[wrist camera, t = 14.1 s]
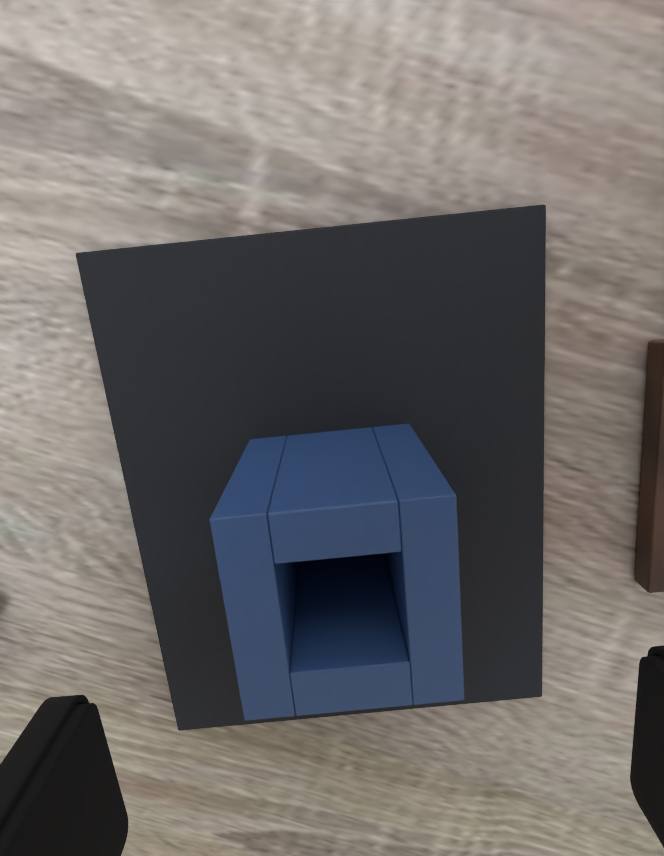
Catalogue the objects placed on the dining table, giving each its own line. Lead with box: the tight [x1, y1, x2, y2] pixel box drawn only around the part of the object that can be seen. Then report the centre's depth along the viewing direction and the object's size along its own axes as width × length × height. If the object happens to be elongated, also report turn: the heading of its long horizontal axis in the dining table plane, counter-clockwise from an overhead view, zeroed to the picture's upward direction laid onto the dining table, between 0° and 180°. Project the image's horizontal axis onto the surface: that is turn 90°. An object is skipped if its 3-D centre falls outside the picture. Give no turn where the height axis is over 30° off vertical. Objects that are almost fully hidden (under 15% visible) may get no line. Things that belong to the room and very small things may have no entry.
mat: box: [76, 205, 546, 730], centre depth 20 cm, size 20×16×1 cm
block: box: [210, 423, 464, 721], centre depth 16 cm, size 6×6×7 cm
